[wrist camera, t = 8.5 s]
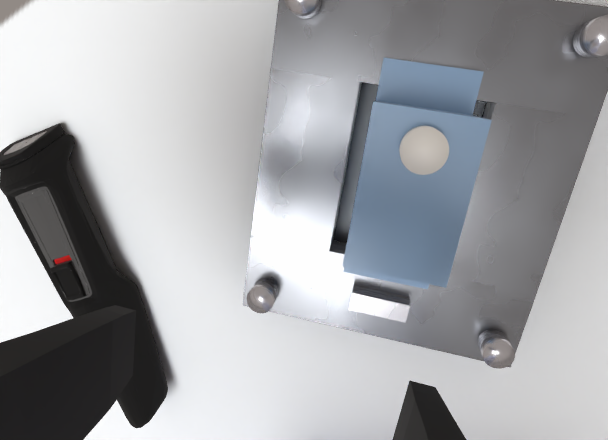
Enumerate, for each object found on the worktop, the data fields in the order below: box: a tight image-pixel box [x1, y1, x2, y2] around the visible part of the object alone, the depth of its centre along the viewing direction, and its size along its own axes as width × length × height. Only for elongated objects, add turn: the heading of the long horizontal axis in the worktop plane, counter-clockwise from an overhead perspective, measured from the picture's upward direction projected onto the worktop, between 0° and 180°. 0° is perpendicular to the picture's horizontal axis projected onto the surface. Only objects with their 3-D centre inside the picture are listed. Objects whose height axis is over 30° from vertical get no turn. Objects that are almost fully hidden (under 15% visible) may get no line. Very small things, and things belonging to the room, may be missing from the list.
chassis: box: [243, 0, 608, 368], centre depth 17 cm, size 14×12×2 cm
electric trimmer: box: [0, 124, 168, 428], centre depth 22 cm, size 4×16×3 cm, turn 19°
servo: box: [343, 58, 492, 289], centre depth 16 cm, size 8×4×6 cm, turn 172°
